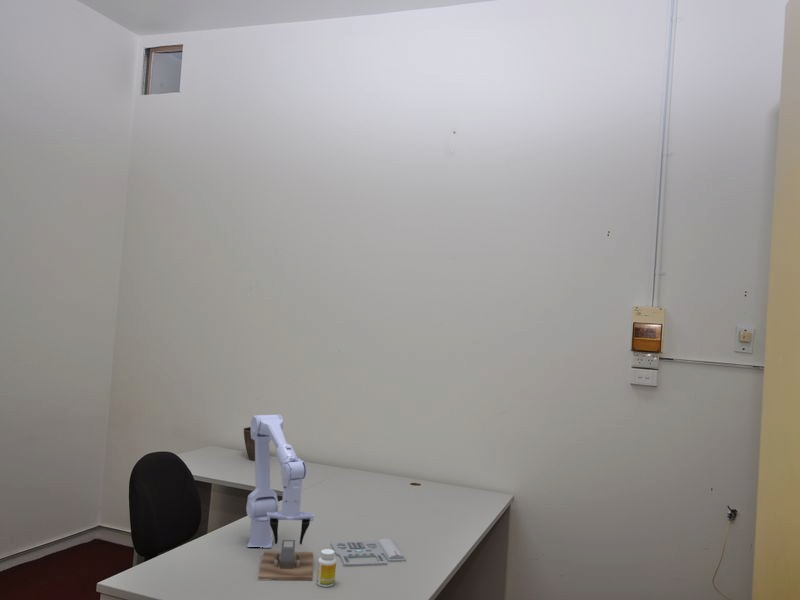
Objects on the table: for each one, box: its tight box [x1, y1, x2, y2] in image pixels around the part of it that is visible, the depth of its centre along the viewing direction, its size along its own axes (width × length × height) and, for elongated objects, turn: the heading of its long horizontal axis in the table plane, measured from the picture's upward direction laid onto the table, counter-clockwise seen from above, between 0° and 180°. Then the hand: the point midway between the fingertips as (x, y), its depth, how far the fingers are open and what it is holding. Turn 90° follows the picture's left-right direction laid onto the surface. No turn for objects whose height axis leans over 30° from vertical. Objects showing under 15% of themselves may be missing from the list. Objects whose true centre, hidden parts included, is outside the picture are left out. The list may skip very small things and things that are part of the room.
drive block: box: [280, 539, 296, 569], centre depth 199 cm, size 8×4×6 cm, turn 8°
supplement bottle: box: [316, 548, 337, 588], centre depth 188 cm, size 5×5×10 cm
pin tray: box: [257, 550, 314, 582], centre depth 199 cm, size 20×16×3 cm
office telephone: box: [330, 538, 407, 568], centre depth 214 cm, size 23×3×20 cm
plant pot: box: [243, 426, 255, 462], centre depth 336 cm, size 15×15×16 cm
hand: (288, 543), depth 199 cm, fingers open, 7 cm apart
